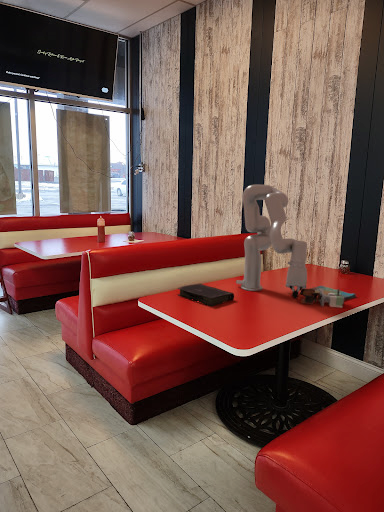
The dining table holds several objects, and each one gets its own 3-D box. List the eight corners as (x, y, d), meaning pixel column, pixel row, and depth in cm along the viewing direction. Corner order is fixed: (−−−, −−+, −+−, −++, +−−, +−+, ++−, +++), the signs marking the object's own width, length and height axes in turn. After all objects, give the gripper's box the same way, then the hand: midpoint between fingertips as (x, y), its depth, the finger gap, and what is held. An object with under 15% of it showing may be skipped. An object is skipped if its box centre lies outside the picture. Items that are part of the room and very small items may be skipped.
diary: (200, 291, 219) (200, 282, 219) (234, 301, 202) (234, 292, 201) (176, 296, 207) (176, 287, 206) (209, 307, 189) (210, 298, 188)
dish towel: (340, 303, 204) (340, 298, 203) (302, 292, 222) (303, 288, 221) (356, 298, 215) (357, 293, 214) (320, 288, 232) (320, 284, 232)
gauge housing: (329, 306, 196) (330, 297, 195) (327, 300, 205) (328, 291, 204) (342, 307, 194) (343, 298, 193) (339, 301, 204) (340, 292, 203)
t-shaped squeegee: (321, 306, 195) (322, 291, 193) (318, 298, 207) (319, 284, 206) (345, 308, 193) (347, 293, 191) (340, 300, 205) (342, 286, 204)
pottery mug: (295, 303, 201) (296, 288, 203) (303, 307, 207) (303, 292, 210) (318, 302, 193) (318, 286, 196) (325, 306, 200) (325, 291, 203)
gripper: (283, 264, 198) (280, 298, 202) (313, 267, 195) (310, 301, 199) (283, 262, 205) (280, 294, 209) (312, 264, 202) (308, 297, 206)
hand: (294, 298), depth 204 cm, fingers closed
